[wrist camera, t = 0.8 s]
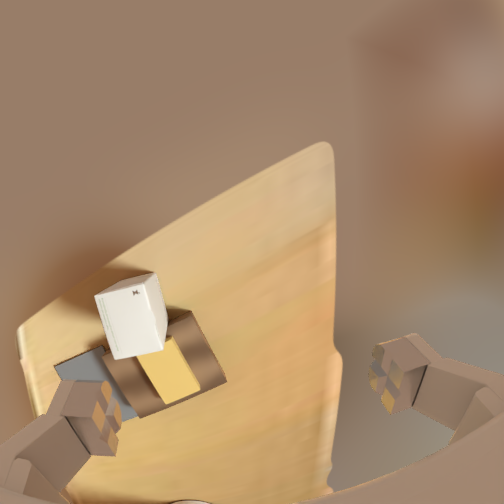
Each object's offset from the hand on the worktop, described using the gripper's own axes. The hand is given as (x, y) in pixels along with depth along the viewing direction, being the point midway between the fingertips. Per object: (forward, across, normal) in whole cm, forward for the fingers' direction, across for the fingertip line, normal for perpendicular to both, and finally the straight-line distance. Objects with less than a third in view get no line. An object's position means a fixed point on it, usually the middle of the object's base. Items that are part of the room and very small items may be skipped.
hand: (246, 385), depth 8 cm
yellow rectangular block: (+31, -9, -24) cm, 40 cm away
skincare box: (+38, -12, -16) cm, 43 cm away
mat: (+32, -24, -30) cm, 50 cm away
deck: (+34, -10, -26) cm, 44 cm away
